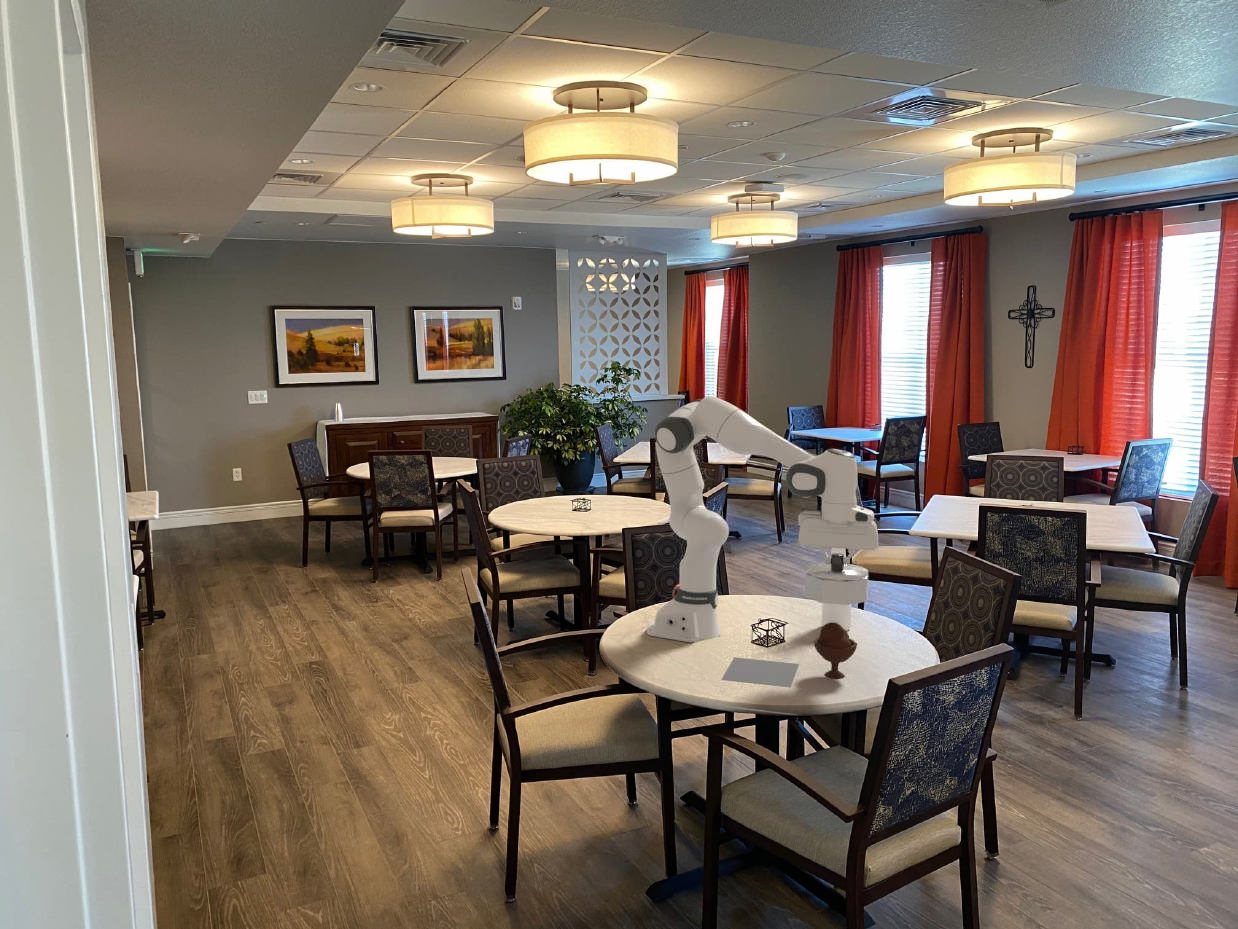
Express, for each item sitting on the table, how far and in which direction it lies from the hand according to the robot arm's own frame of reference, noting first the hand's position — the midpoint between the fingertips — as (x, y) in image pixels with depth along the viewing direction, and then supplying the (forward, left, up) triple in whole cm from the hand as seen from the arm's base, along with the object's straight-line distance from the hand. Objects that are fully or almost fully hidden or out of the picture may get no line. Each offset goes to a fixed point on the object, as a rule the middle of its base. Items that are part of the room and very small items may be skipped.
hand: (837, 564), depth 236 cm
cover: (0, 0, -8) cm, 8 cm away
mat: (-19, -3, -30) cm, 36 cm away
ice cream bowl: (0, 0, -31) cm, 31 cm away
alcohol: (-3, +43, -31) cm, 53 cm away
